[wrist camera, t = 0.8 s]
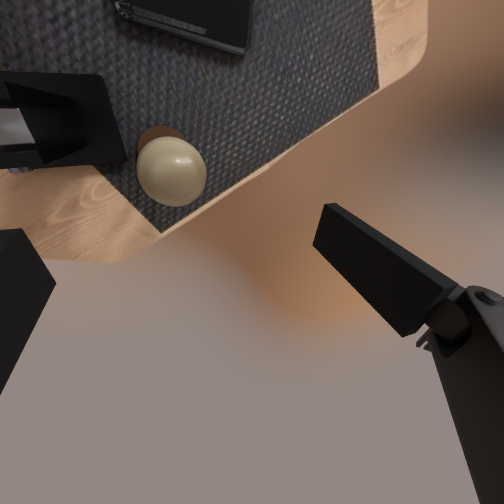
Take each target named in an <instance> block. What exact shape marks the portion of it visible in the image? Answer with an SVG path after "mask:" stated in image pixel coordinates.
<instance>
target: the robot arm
mask: <svg viewBox="0 0 504 504" xmlns="http://www.w3.org/2000/svg"><path fill="white" fill-rule="evenodd" d="M313 246H314V247H315V248H316V249H317V250H318V251H319V252H320V254H322V256H323V257H324V258H325V259H326V260H327V261H328V262H329V263H330V264H331V265H332V266H333V267H334V268H335V269H336V270H337V271H338V272H339V273H340V274H341V275H342V276H343V277H344V278H345V279H346V280H347V281H348V282H349V283H350V284H351V285H352V286H353V287H354V288H355V289H356V291H358V292H359V294H360V295H361V296H363V298H364V299H365V300H366V301H367V302H368V303H369V304H370V305H371V306H372V307H373V308H374V309H375V310H376V311H377V312H378V313H379V314H380V315H381V316H382V317H383V318H384V319H385V320H386V321H387V322H388V323H389V324H390V325H391V326H392V328H393V329H394V330H396V332H397V333H398V334H399V335H400V336H401V337H405V336H408V335H411V334H414V333H416V332H417V331H418V330H419V329H420V328H421V326H422V325H423V324H424V323H425V324H426V325H427V326H428V327H430V328H429V329H428V330H427V331H426V332H425V333H424V334H423V335H422V337H420V339H419V340H418V341H417V342H416V347H420V346H421V345H422V344H423V343H424V342H425V341H428V343H427V344H426V345H425V346H424V349H425V350H428V351H431V352H432V355H433V358H434V362H435V365H436V368H437V371H438V374H439V377H440V380H441V383H442V386H443V390H444V393H445V396H446V399H447V402H448V405H449V408H450V411H451V415H452V417H453V421H454V424H455V427H456V430H457V433H458V437H459V440H460V443H461V446H462V449H463V452H464V455H465V458H466V462H467V465H468V468H469V471H470V474H471V477H472V480H473V483H474V486H475V490H476V493H477V496H478V499H479V502H480V504H504V297H502V296H501V295H499V294H497V293H495V292H493V291H491V290H489V289H486V288H483V287H479V286H468V287H467V288H466V289H465V288H463V287H462V286H460V285H459V284H458V283H456V282H455V281H453V280H452V279H450V278H449V277H447V276H446V275H444V274H443V273H441V272H440V271H438V270H437V269H435V268H433V267H432V266H430V265H429V264H427V263H426V262H424V261H423V260H421V259H420V258H418V257H417V256H415V255H414V254H412V253H411V252H409V251H408V250H406V249H405V248H403V247H402V246H400V245H399V244H397V243H396V242H394V241H393V240H391V239H390V238H388V237H386V236H385V235H383V234H382V233H380V232H379V231H377V230H376V229H374V228H373V227H371V226H370V225H368V224H367V223H365V222H364V221H362V220H361V219H359V218H358V217H356V216H355V215H353V214H352V213H350V212H349V211H347V210H346V209H344V208H342V207H341V206H339V205H338V204H337V203H331V204H324V207H323V211H322V214H321V218H320V221H319V224H318V228H317V231H316V235H315V238H314V241H313ZM55 285H56V282H55V280H54V278H53V277H52V275H51V274H50V272H49V270H48V269H47V267H46V266H45V264H44V262H43V261H42V259H41V258H40V256H39V255H38V253H37V251H36V250H35V248H34V247H33V245H32V243H31V242H30V240H29V239H28V237H27V235H26V234H25V232H24V231H23V229H22V228H20V229H7V230H0V395H1V393H2V391H3V389H4V387H5V385H6V382H7V381H8V379H9V377H10V375H11V373H12V370H13V368H14V367H15V364H16V362H17V361H18V359H19V357H20V355H21V353H22V351H23V349H24V347H25V344H26V343H27V341H28V338H29V337H30V334H31V333H32V331H33V329H34V327H35V325H36V323H37V321H38V319H39V317H40V315H41V313H42V311H43V309H44V307H45V305H46V303H47V301H48V299H49V297H50V295H51V293H52V291H53V289H54V287H55Z"/></svg>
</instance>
